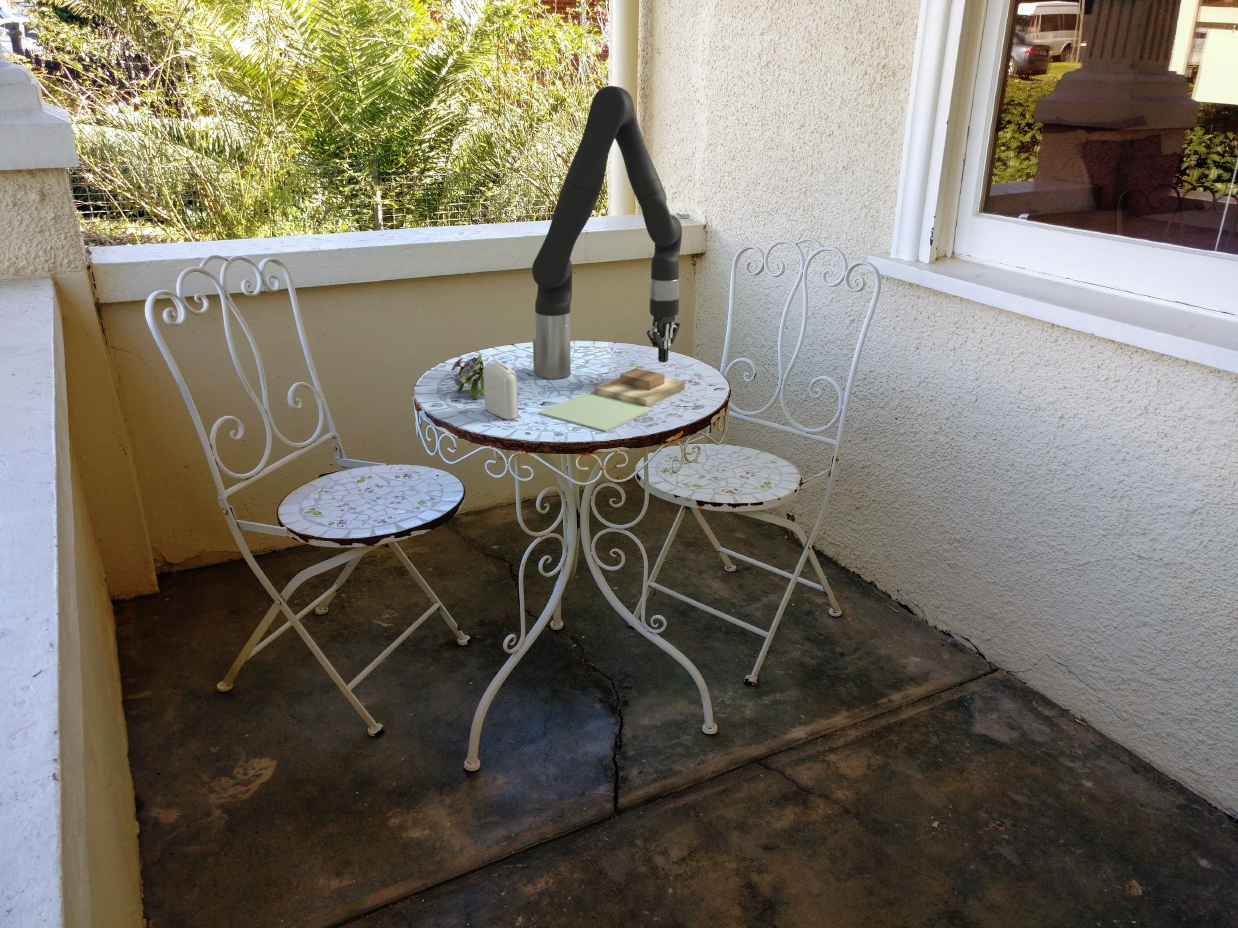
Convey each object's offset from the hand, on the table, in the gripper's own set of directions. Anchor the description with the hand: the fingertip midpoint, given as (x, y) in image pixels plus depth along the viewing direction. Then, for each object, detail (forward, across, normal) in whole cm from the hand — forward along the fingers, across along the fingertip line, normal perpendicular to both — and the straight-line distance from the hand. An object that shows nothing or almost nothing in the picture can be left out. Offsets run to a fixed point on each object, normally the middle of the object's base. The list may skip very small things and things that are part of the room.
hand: (663, 361), depth 233 cm
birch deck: (+6, +10, 0) cm, 12 cm away
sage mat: (+6, +29, 0) cm, 30 cm away
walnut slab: (+4, +9, 0) cm, 10 cm away
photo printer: (+6, +44, -18) cm, 48 cm away
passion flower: (+5, +36, -34) cm, 50 cm away
